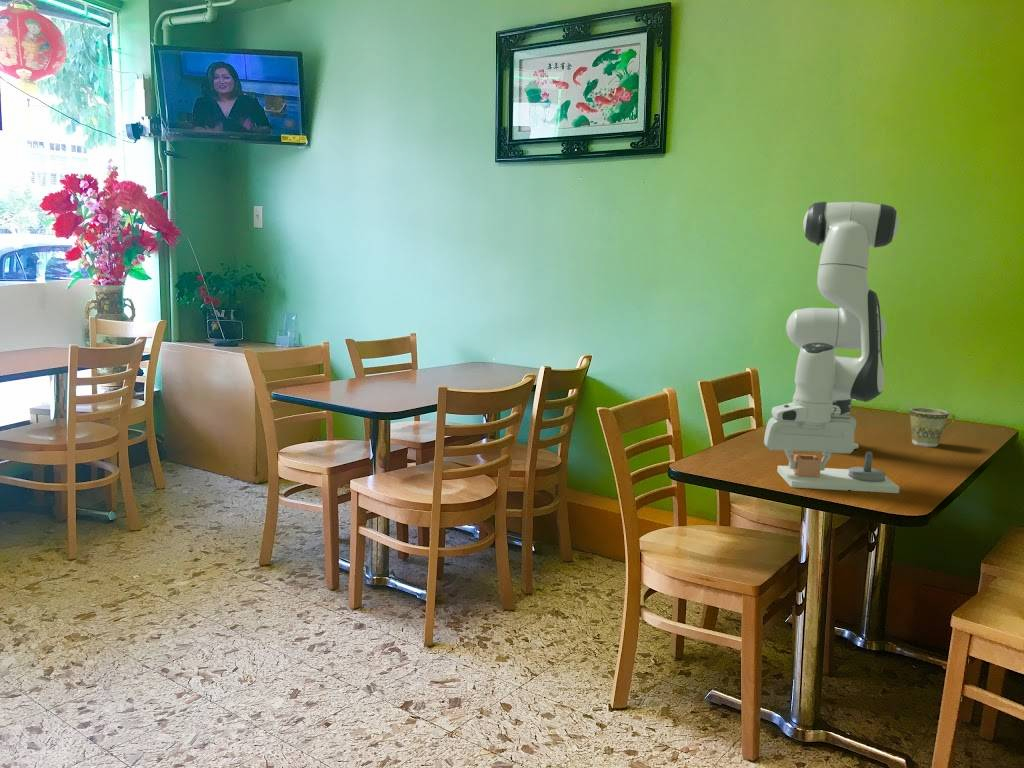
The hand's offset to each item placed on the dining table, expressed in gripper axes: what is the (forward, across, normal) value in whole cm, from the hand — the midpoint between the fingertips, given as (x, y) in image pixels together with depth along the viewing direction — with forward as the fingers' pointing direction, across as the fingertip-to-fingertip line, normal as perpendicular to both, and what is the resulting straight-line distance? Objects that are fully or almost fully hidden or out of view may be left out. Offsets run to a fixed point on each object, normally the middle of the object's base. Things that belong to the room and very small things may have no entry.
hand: (806, 469), depth 193 cm
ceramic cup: (+3, -48, -48) cm, 68 cm away
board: (+3, -7, 0) cm, 8 cm away
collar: (+1, 0, 0) cm, 1 cm away
